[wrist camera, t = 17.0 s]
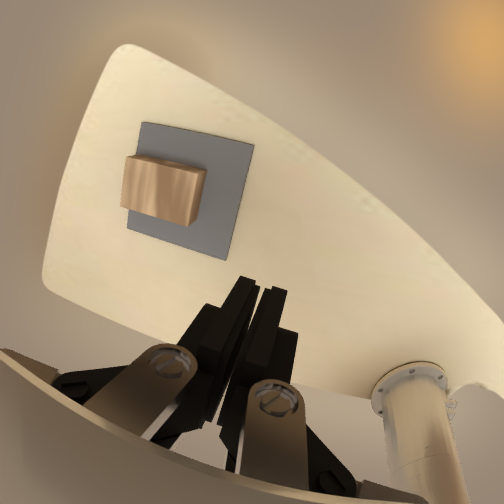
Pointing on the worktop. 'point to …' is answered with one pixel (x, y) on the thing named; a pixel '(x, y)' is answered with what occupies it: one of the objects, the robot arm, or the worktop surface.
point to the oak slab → (162, 189)
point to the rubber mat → (214, 192)
